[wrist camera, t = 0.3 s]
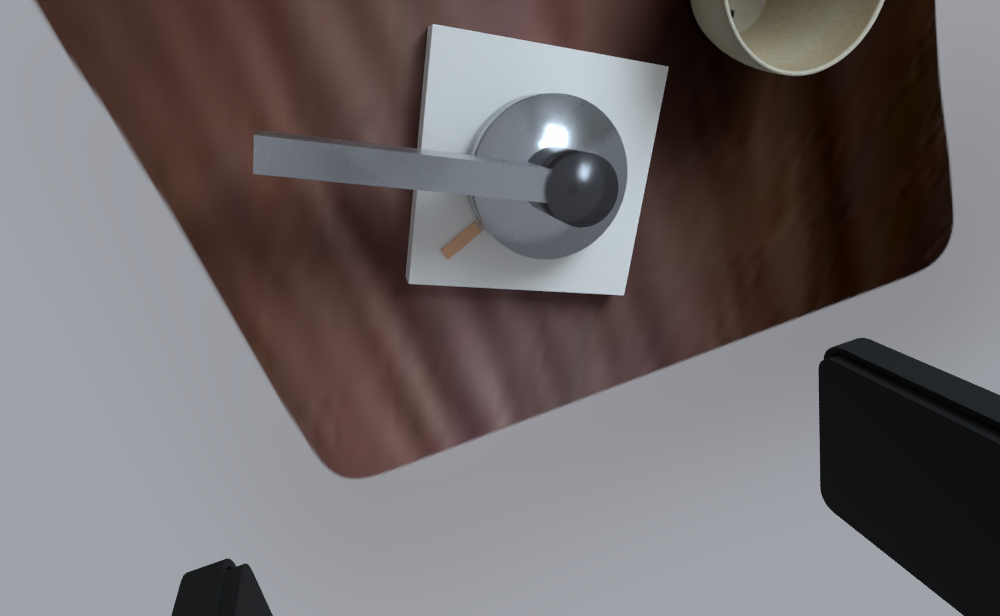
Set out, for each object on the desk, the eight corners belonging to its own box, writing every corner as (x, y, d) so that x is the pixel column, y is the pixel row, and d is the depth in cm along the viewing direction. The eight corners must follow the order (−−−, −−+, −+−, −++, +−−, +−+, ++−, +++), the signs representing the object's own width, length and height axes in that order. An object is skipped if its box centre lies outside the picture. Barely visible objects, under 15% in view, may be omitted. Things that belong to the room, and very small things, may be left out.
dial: (625, 105, 36) (684, 107, 30) (597, 256, 38) (648, 285, 33) (266, 49, 30) (254, 38, 24) (262, 231, 33) (250, 261, 27)
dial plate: (427, 26, 33) (433, 23, 32) (656, 67, 38) (670, 66, 36) (405, 276, 37) (409, 284, 36) (613, 288, 42) (625, 296, 40)
